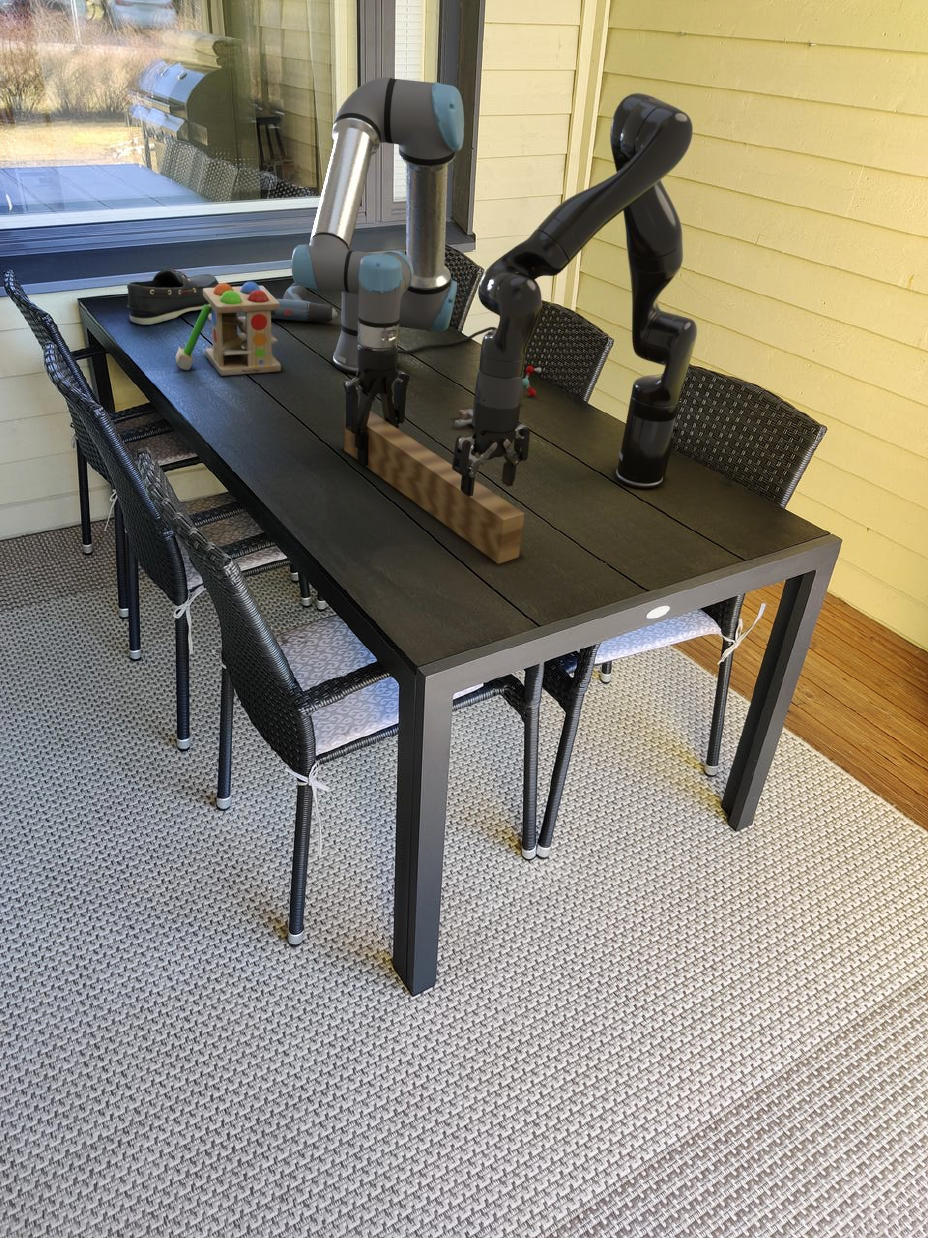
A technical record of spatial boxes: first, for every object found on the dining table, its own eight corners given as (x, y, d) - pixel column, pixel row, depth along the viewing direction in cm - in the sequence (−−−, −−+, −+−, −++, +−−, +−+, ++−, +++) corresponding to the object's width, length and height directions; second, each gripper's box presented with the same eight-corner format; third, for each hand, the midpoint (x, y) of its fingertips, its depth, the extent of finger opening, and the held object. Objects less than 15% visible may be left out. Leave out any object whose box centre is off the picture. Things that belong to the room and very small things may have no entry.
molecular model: (537, 396, 220) (523, 352, 219) (499, 410, 224) (485, 367, 222) (549, 394, 231) (536, 353, 229) (513, 408, 234) (500, 367, 233)
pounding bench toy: (183, 379, 220) (176, 299, 210) (169, 357, 231) (162, 280, 221) (282, 371, 230) (280, 294, 220) (264, 350, 240) (262, 276, 230)
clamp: (446, 411, 212) (486, 405, 217) (446, 420, 214) (485, 415, 218) (482, 439, 202) (522, 432, 206) (481, 448, 203) (521, 442, 208)
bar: (344, 450, 197) (344, 410, 193) (363, 446, 200) (364, 406, 195) (498, 564, 166) (503, 519, 161) (519, 557, 168) (524, 513, 163)
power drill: (344, 304, 276) (335, 327, 259) (277, 298, 275) (264, 321, 258) (344, 285, 273) (335, 306, 256) (277, 279, 272) (264, 300, 255)
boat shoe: (239, 303, 270) (236, 264, 265) (147, 326, 246) (142, 284, 241) (205, 294, 276) (202, 256, 270) (112, 317, 252) (106, 275, 247)
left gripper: (347, 357, 173) (345, 477, 186) (429, 344, 183) (421, 458, 196) (325, 344, 178) (325, 461, 191) (406, 332, 187) (400, 444, 201)
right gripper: (477, 413, 150) (467, 507, 159) (546, 399, 158) (533, 489, 167) (448, 396, 155) (440, 489, 164) (517, 383, 163) (506, 472, 172)
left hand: (374, 460), depth 193 cm, fingers closed on bar, 5 cm apart
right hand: (487, 489), depth 166 cm, fingers open, 8 cm apart
